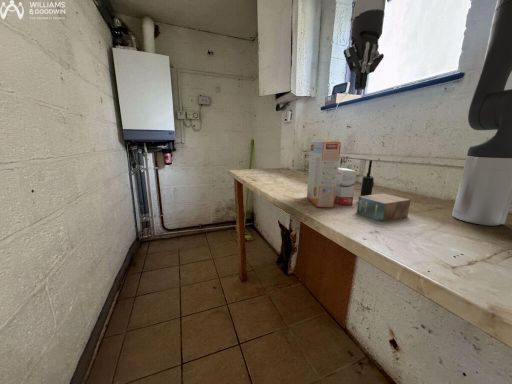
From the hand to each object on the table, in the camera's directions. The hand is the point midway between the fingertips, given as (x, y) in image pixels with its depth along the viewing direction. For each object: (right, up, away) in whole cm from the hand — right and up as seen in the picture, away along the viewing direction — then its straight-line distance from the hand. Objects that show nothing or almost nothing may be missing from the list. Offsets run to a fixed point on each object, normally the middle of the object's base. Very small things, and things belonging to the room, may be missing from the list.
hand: (359, 89), depth 57 cm
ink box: (+2, -32, +16) cm, 36 cm away
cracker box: (-7, -32, +15) cm, 36 cm away
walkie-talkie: (+9, -33, +15) cm, 37 cm away
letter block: (+3, -33, +1) cm, 33 cm away
